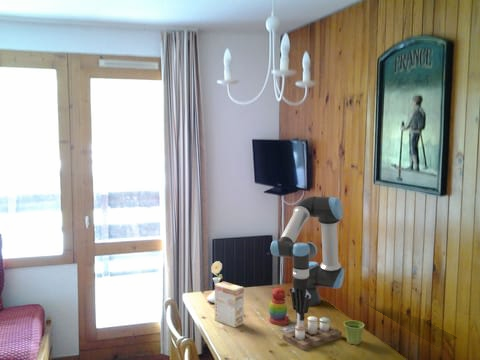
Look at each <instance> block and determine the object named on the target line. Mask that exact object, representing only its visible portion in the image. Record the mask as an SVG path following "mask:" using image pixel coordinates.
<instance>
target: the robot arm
mask: <svg viewBox="0 0 480 360" xmlns="http://www.w3.org/2000/svg"><path fill="white" fill-rule="evenodd" d="M343 210H344V209H343V204H342V201H341V199H340V198H338V197H333V196H315V195H311V196H308V197H305V198H303V199H302V200H300V201H299V202H298V203H297V204H296V205H295V206H294V208H293V210H292V215H291V217H290V219H289V221H288V223H287V225H286V227H285V229H284V231H283V232H282V234H281V236H280V238H279V239H278V240H272V242H271V244H270V248H269V249H270V253H271V255H272V256H275V257H282V258H290V259H291V258H292V285H293V287H291V288H289V292H290V296H291V302H292V303H291V304H292V309H293V311H295V312H296V313H295V315H296V323H297V327H303V325H304V321H305V314H308V313H309V308H310V307H314V306H318V305H320V304H321V300H322V299H321V296H320V292H319V287H322V288H329V289H341V287H342V286H343V284H344V279H345V271H346V270H345V268H343V267H342V265H341V263H340V262H339V253H338V252H339V248H338V247H339V246H338V245H339V244H338V224H339V223H340V220H341V219H342V218H343ZM310 218H317V222H318V223H319V224H320V226H321V227H320V228H321V231H320V232H321V249H322V250H321V251H322V262H321V263H320V265H319V263H318V262H317V261H311V260H312V259H314V258H315V257H316V256H317V254H318V246H317V245H316V244H315V243H314V242H311V241H308V242H296V241H297V238H298V237H299V234H300V233H301V230H302V228H303V226H304V225H305V222H306V221H308V220H309V219H310Z"/></svg>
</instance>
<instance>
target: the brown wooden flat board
mask: <svg viewBox="0 0 480 360" xmlns="http://www.w3.org/2000/svg"><path fill="white" fill-rule="evenodd" d="M342 334H343V333H342V331H340V330H338V329H336V328H334V327H331V326H330V325H329V331H328V332H325V333H324V332H322V331H320V322H317V333H316V334H310V333H308V326H307V327H305V339H304V340H301V341H299V340H297V339H295V331H292V332H289V333H283V334H282V341H283V340H284V341H285V342H286V343H289V344H290V345H292V346H294V347H296V348H298V349H299V350H302V351H305V350H308V349H312V348H314V347H317V346H320V345H322V344H325V343H328V342H331V341H335V340H337V339H339V338H342V337H343V336H342Z"/></svg>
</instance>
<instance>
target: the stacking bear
mask: <svg viewBox="0 0 480 360" xmlns="http://www.w3.org/2000/svg"><path fill="white" fill-rule="evenodd" d="M271 296H272V299H271V300H270V301H269V307H268V310H269V316H270V317H269V320H268V321H269V322H270V323H271V324H273V325H277V326H282V327H286V326H288V324H289V322H288V321H289V320H290V317H289V316H288V315H287V313H288V306H287V301H286V297H287V293H286V292H285V291H284V289H283V288H281V287H279V286H277V287H276V288H275V287H274V289H272V293H271Z"/></svg>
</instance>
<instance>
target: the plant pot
mask: <svg viewBox="0 0 480 360" xmlns="http://www.w3.org/2000/svg"><path fill="white" fill-rule="evenodd" d="M343 325H344V328H345V335H346V341H347V343H348V344H349V345H360V344H361V340H362V334H363V331H364V330H363V329H364V327H365V324H364V323H363V322H362V321H359V320H353V319H352V320H350V319H349V320H346V321H344V322H343Z"/></svg>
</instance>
